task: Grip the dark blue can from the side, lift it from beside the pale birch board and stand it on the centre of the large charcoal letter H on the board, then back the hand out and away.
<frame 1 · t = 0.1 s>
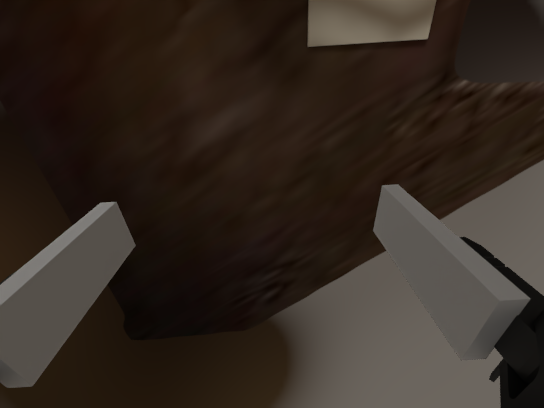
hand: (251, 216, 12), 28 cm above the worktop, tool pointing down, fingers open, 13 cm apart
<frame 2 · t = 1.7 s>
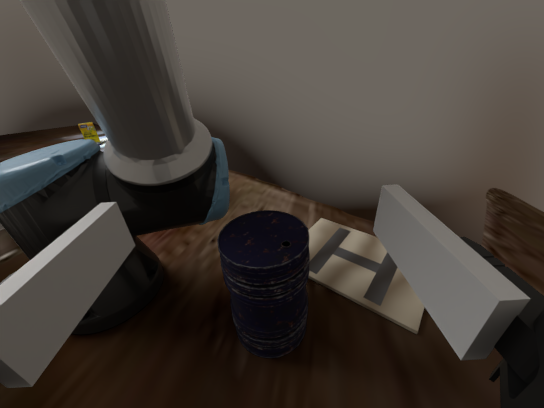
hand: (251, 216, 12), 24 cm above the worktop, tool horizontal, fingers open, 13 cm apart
dark blue can: (271, 321, 32), on the worktop
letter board: (355, 261, 41), on the worktop
supplement box: (94, 145, 123), on the worktop
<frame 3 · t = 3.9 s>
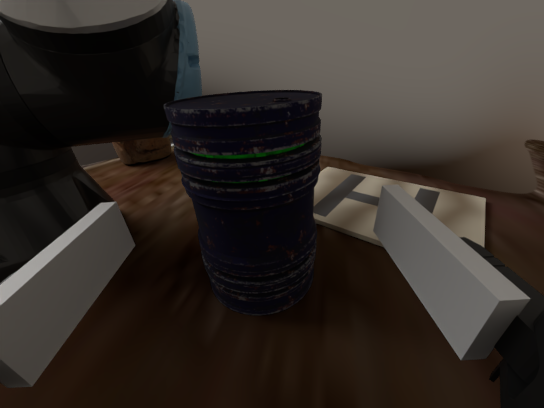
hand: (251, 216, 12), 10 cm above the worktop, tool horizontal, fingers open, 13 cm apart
block: (147, 160, 54), on the worktop
dark blue can: (262, 270, 22), on the worktop
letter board: (375, 205, 31), on the worktop
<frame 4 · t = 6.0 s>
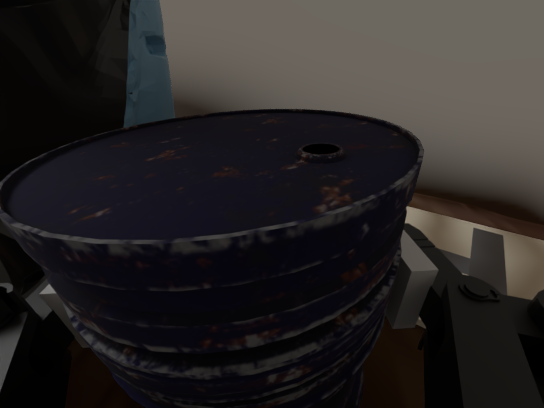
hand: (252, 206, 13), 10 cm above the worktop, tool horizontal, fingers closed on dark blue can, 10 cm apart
dark blue can: (265, 387, 14), on the worktop, touching gripper
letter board: (418, 254, 23), on the worktop
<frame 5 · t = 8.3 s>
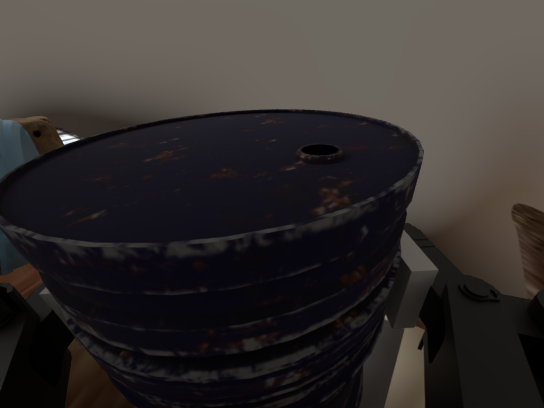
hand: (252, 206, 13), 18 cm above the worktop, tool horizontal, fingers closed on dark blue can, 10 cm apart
block: (70, 230, 45), on the worktop
dark blue can: (265, 388, 14), point 8 cm above the worktop, touching gripper
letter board: (318, 354, 23), on the worktop
when the fingers open (12 cm above the worktop, at t = 10.7 s): dark blue can drops 1 cm, resting on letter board.
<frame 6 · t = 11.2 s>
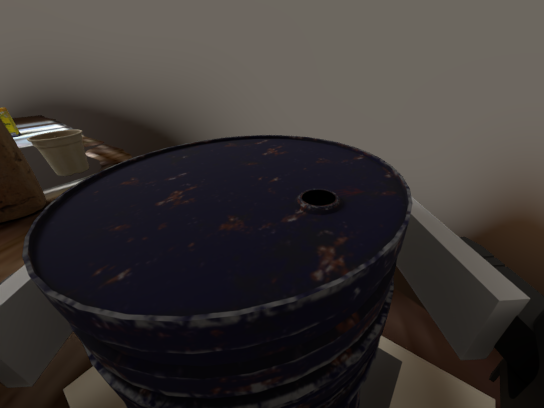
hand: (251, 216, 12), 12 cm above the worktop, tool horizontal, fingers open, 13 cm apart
block: (10, 216, 38), on the worktop
dark blue can: (266, 398, 15), resting on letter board
flower pot: (75, 172, 55), on the worktop
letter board: (267, 398, 15), on the worktop
supplement box: (10, 137, 97), on the worktop
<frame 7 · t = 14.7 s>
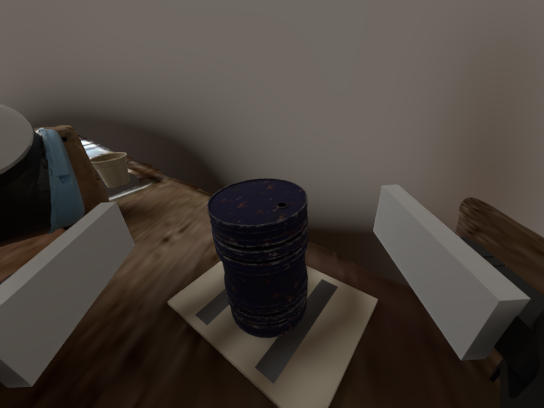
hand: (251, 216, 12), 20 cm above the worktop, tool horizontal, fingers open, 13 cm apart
block: (87, 218, 54), on the worktop
dark blue can: (268, 302, 30), resting on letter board
flower pot: (119, 185, 71), on the worktop
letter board: (269, 303, 30), on the worktop
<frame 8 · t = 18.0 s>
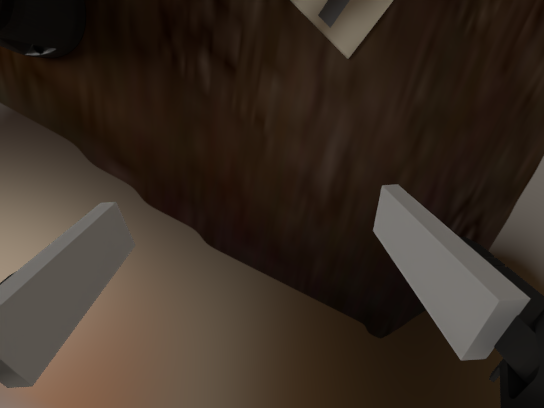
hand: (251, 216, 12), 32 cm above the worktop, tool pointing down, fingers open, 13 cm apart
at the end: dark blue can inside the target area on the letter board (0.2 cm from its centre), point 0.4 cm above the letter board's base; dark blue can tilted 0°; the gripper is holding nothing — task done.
